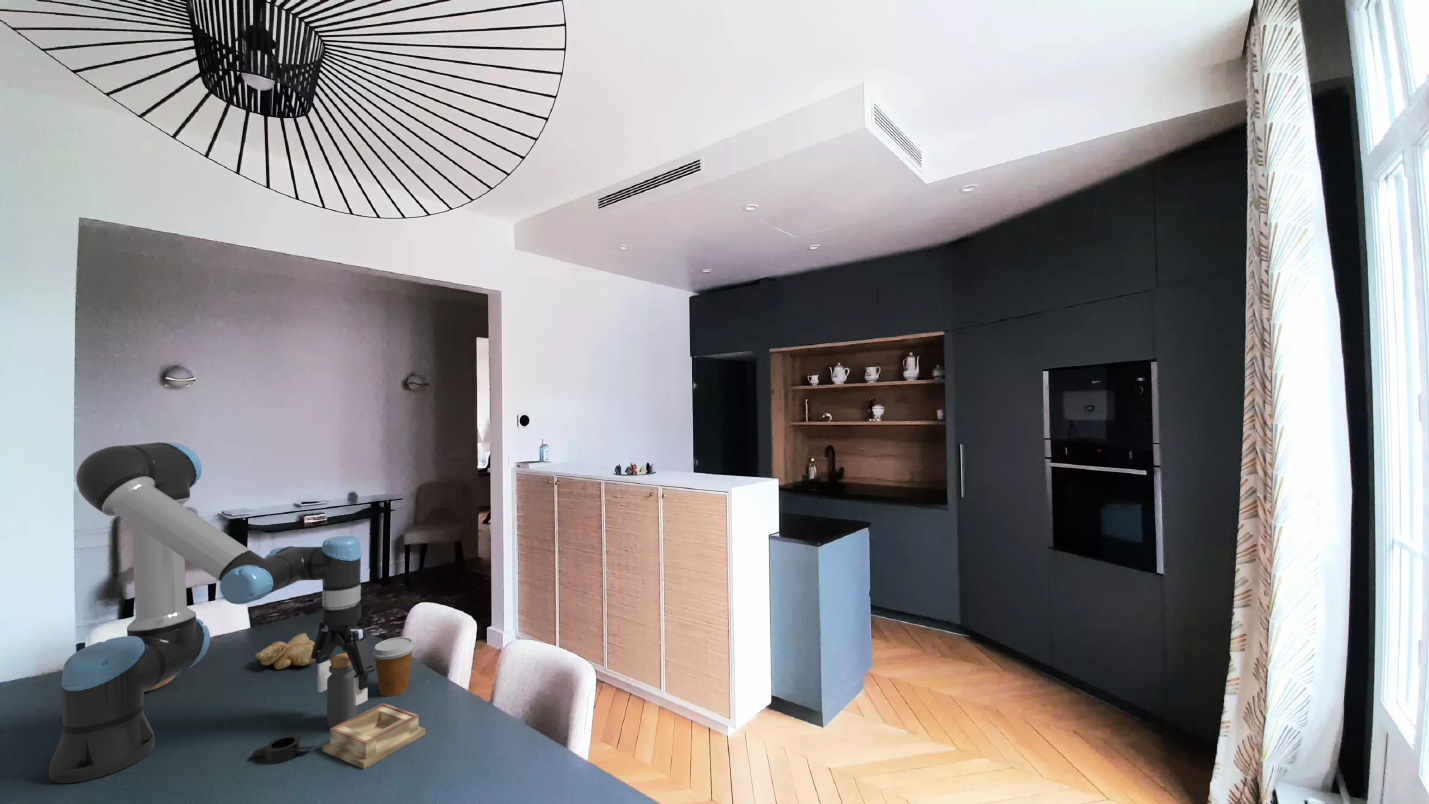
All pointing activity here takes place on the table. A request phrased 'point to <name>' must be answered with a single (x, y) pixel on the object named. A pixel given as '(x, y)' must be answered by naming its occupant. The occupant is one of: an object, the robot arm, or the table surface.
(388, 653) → the disposable coffee cup
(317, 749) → the table surface
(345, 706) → the bottle
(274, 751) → the dark winged oval cup
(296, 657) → the ginger root
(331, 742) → the holder block
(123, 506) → the robot arm
